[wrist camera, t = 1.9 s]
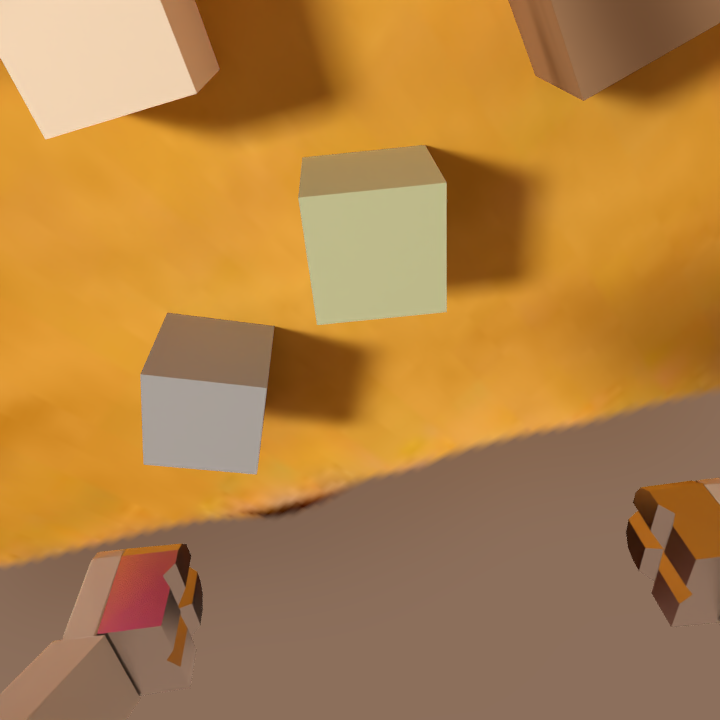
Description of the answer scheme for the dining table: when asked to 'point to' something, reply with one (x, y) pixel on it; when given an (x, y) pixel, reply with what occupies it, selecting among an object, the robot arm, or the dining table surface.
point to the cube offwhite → (102, 57)
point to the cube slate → (206, 394)
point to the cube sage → (375, 234)
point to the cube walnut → (605, 37)
